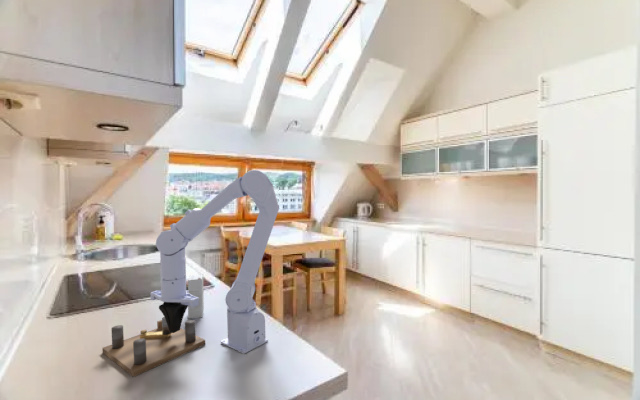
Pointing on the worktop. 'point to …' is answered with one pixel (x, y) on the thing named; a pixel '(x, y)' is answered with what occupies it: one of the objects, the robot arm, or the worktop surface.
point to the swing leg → (162, 334)
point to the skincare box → (196, 295)
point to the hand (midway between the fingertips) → (174, 331)
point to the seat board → (150, 348)
